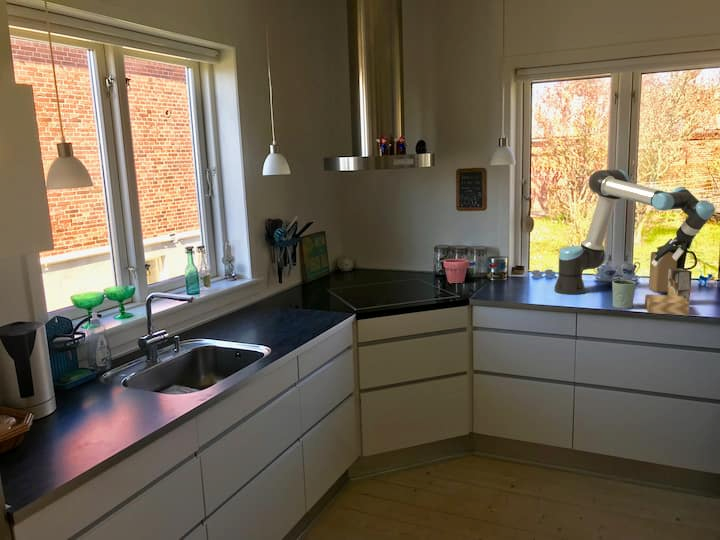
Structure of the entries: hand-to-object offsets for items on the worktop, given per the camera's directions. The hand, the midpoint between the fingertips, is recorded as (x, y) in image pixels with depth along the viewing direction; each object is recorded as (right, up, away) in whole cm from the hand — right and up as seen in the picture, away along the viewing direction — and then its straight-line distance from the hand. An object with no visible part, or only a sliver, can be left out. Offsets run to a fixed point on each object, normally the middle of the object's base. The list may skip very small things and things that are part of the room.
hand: (663, 261), depth 287 cm
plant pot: (-90, -11, +59) cm, 108 cm away
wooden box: (-6, -22, -13) cm, 26 cm away
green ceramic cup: (-22, -21, -6) cm, 32 cm away
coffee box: (+6, -20, -1) cm, 21 cm away
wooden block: (+12, -15, +26) cm, 32 cm away
